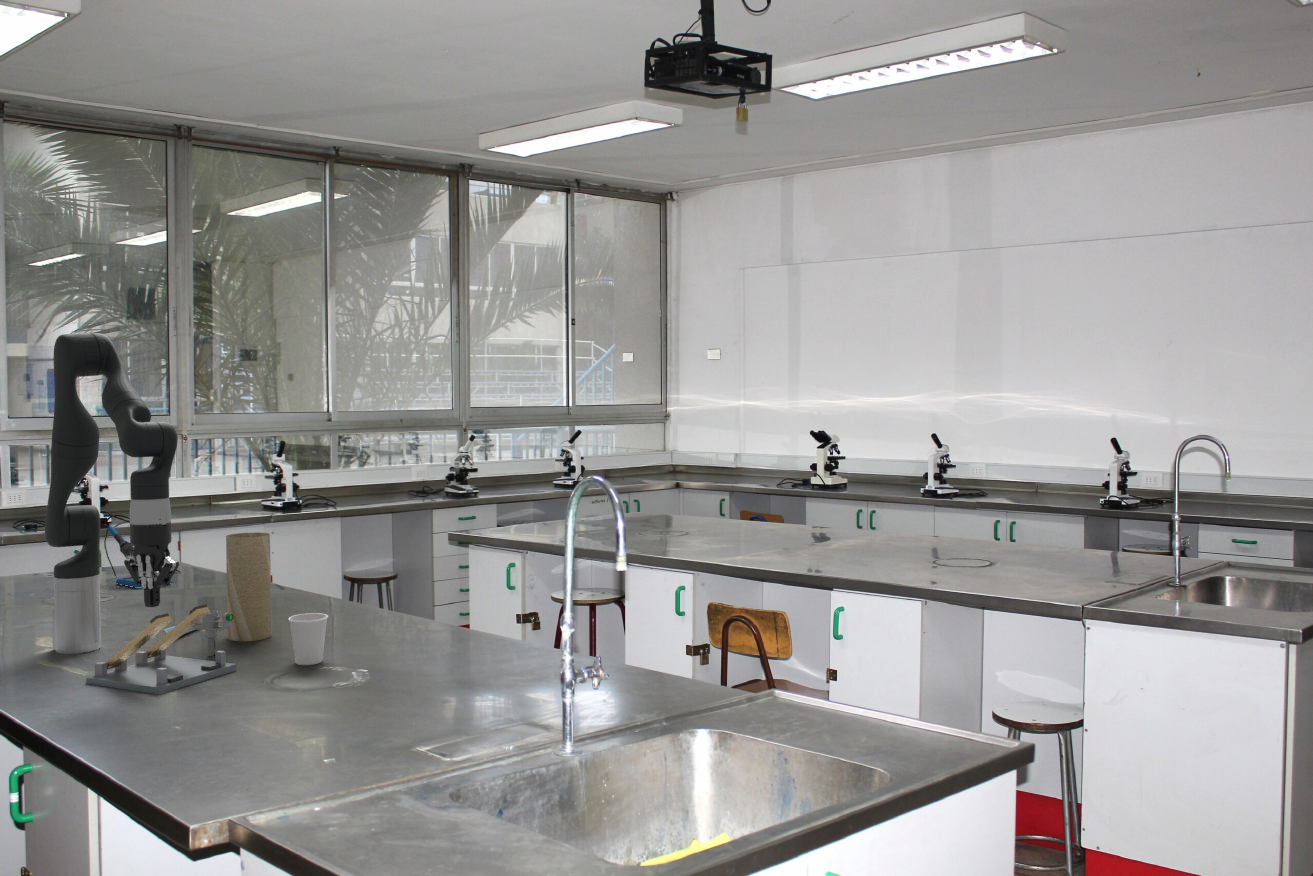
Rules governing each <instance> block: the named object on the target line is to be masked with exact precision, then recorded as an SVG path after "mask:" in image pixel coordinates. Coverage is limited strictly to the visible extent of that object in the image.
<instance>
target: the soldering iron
mask: <svg viewBox="0 0 1313 876" xmlns="http://www.w3.org/2000/svg"><path fill="white" fill-rule="evenodd" d="M109 532H110V534H111V535H112V537H113V538H114V540H116V543H118V544H119V551H120V552H121V554H122V555H123V556H124V558H125V560H128V559H130V558H131V557H132V556H133V550H134V546H133V545H131V544H130V541H127V540H125V538H123V537H122V536H121V534H120V533H119V532H118V531H117V530H116V529H115V528H114V527H113V526H111V525H108V526H107V529H106V533H105V537H104V542H103V543H104V544H103V545H104V550H105V554H106V557H107V561H109V564H110V567H111V569H112V572H113V575H114V577H115V576H116V577H117V574H116V571H115V569H114V566H113V564H112V562H111V559H110V557H109V554H108V549H107V545H106V544H107V543H106V541H107V536H108V533H109ZM145 572H146V571H145ZM175 572H178V573H180V572H181V571H180V570H179V569H177V570H176V571H175ZM138 576H139V575H138ZM139 578H141V577H139ZM155 578H156V577H155ZM172 581H173V580H170V581H169V583H168V584H169V586H170V585H171V584H170V583H173V582H172ZM116 583H118V584H122V585H128V586H133V587H142V586H141V585H136V583H135V582H134V580H133V578H132V576H128V577H122V578H121V577H120V578H116V580H115V584H116Z"/></svg>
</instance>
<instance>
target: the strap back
mask: <svg viewBox="0 0 1313 876" xmlns="http://www.w3.org/2000/svg"><path fill="white" fill-rule="evenodd" d="M210 611H211V610H210V609H209V606H208V605H207V604H203V605H202V604H201V605H198V606H197V605H196V606H194V607H193V608H192V609H190V611H189V613H190V615H189V614H188V616H187V617H185V618H184V619H183V620H182V621H181V622H179V623H178V624H177V625H175V626H176V627H175V628H174V629H172V630H171V631H170V632H169V633H168V634H166V635H165V636H164V637H163V638H162V639H160V640H159V641H156V642H155V643H154V644H153V645H152V646H151V647H150V648H148V649H147V650H145V652H147V660H148V659H152V658H154V657H155V656H158V655H159V654H160V653H161V652H162V651H163V650H164V649H166V650H167V648H168V647H169V646H170V645H172V644H173V643H174V642H175V641H177V640H178V639H180V637H181V636H184V635H185V634H186V633H185V632H186V631H187V630H189V629H190V628H191V627H192V626H193V625H195V624H196V623H197V622H198V621H199V620H201V619H202V618H203V617H204V616H205V615H207V614H208V613H209V612H210ZM184 633H185V634H184Z"/></svg>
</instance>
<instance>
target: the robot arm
mask: <svg viewBox="0 0 1313 876" xmlns="http://www.w3.org/2000/svg"><path fill="white" fill-rule="evenodd" d="M94 376H95V377H97V376H104V377H105V378H107V380H106V382H105V385H104V388H103V390H102V393H101V403H102V407H103V409H104V411H105V412H106V413H107V415H108V417H109V418H110V419H111V421H112V422H113V424H114V425H115V429H116V432H117V438H118V444H119V447H120V450H121V452H122V453H124V454H125V455H126V456H128V457H132V458H151V457H152V460H151V462H150V463H149V465H148V466H147V467H143V468H140V469H136V470H134V471H132V472H131V473H130V478H129V480H130V481H129V482H130V484H129V485H130V488H129V489H130V494H129V495H130V503H129V504H130V505H129V543H130V544H131V545H133V547H134V550H133V556H131V557H129V559H128V558H127V559H128V560H127V559H124V561H123V563H124V566H125V568H126V569H127V571H128V573H129V575H130V577H132V578H133V580H134V582H135V583H136V585H141V586H142V588H143V589H142V590H143V602H144V603H143V604H144V606H145V607H146V608H157V607H159V605H160V603H161V587H164V586H168V585H167V584H168V583H169V581H172V578H173V576H174V574H175V572H177V571H176V570H178V567H179V566H180V563H179V562H180V561H178V560H173V559H172V558H171V552H170V550H169V545H170V544H171V542H172V509H171V503H170V475H171V471H172V466H173V462H174V458H175V455H176V452H177V447H178V444H179V443H178V441H179V437H178V434H177V430H176V429H175V427H174V426H173V425H172V424H171V423H169V422H167V421H151V420H152V413H151V410H150V408H149V407H148V406H147V404H146V403H145V401H144V400H143V399H142V397H141V396H140V395H139V393H138V392H137V391H136V389H135V388H134V386H133V384H132V382H131V379H130V378H129V375H128V373H127V370H126V368H125V366H124V363H123V362H122V359H121V357H120V355H119V352H118V351H117V348H116V346H115V344H114V342H112V340H111V339H110V338H109V336H107V335H106V334H103V333H98V332H91V333H89V332H88V333H65V334H61V335H59V336H58V337H57V338H56V339H55V342H54V346H53V383H54V384H53V385H54V406H53V408H54V409H53V420H52V430H51V431H52V433H51V446H50V447H51V448H50V450H51V451H50V482H49V491H48V500H47V505H46V507H47V508H46V514H45V522H44V535H45V536H44V537H45V540H46V543H47V544H48V545H49V546H50V547H53V548H66V547H80V546H81V550H80V551H79V552H77V553H76V554H75V555H74V556H71V557H70V558H67V559H65V560H62V561H59V562H57V563H56V564H55V565H54V567H53V590H54V591H53V592H54V608H53V609H52V610H51V623H52V624H51V625H52V627H51V628H52V651H54V652H56V653H57V654H61V655H62V654H63V655H75V654H83V653H84V652H85V653H89V652H94V651H97V650H100V649H101V648H102V620H101V619H102V618H101V617H102V616H101V576H100V575H101V574H100V573H101V572H100V568H101V567H100V559H101V558H100V557H101V556H100V545H101V544H100V543H101V542H100V541H101V515H100V511H99V509H98V508H97V507H96V506H95V505H93V504H91V505H90V504H86V505H85V504H84V505H83V504H82V505H69V506H67V503H68V501H69V498H70V496H71V494H72V492H73V491H74V489H75V488H76V487H77V485H78V484H79V483H80V482H81V481H82V480H83V479H84V478H85V476H86V475H88V473H89V472H90V470H91V469H92V468H93V467H94V466H95V464H96V462H97V459H98V457H99V450H100V449H99V448H100V437H101V436H100V434H101V433H100V429H99V426H98V424H97V422H96V420H95V419H94V417H93V416H92V415H91V414H90V412H89V411H88V410H87V408H86V407H85V405H84V404H83V403H82V400H81V399H80V396H79V395H78V392H77V385H76V384H77V378H81V377H94ZM145 571H146V572H145ZM138 575H139V576H138ZM139 577H141V578H139ZM155 577H156V578H155ZM99 648H100V649H99ZM93 650H94V651H93Z"/></svg>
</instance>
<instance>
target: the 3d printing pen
mask: <svg viewBox="0 0 1313 876" xmlns="http://www.w3.org/2000/svg"><path fill="white" fill-rule="evenodd" d="M176 626H177V625H175V626H170V627H168V628H163V629H162V630H160V631H159V632H158V633H157V636H156V642H158V641H159V640H160V639H162V638H163V637H164V636H165V635H166V634H168V633H169V632H170V631H171V630H172V629H174V628H175V627H176ZM195 630H196V629H193V628H192V627H191V628H190V629H189V630H187V631H186V632H185V633H184V634H183V635H185V634H187V633H190V632H192V631H195Z"/></svg>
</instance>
